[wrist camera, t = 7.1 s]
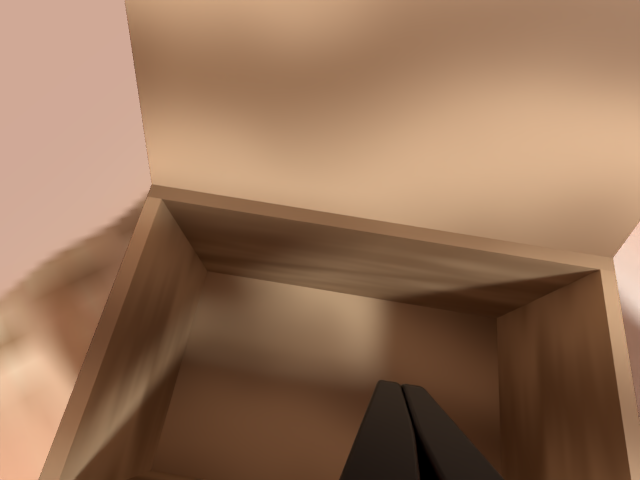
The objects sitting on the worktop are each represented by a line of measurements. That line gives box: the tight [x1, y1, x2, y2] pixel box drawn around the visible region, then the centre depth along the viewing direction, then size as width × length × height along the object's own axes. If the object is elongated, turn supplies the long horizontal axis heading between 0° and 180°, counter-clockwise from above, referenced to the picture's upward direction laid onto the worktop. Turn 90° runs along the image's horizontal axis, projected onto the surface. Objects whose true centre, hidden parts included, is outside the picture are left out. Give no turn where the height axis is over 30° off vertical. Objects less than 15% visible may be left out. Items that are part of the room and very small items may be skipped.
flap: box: [125, 0, 640, 258], centre depth 11 cm, size 10×16×1 cm
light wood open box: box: [39, 184, 640, 480], centre depth 15 cm, size 10×16×8 cm, turn 81°
